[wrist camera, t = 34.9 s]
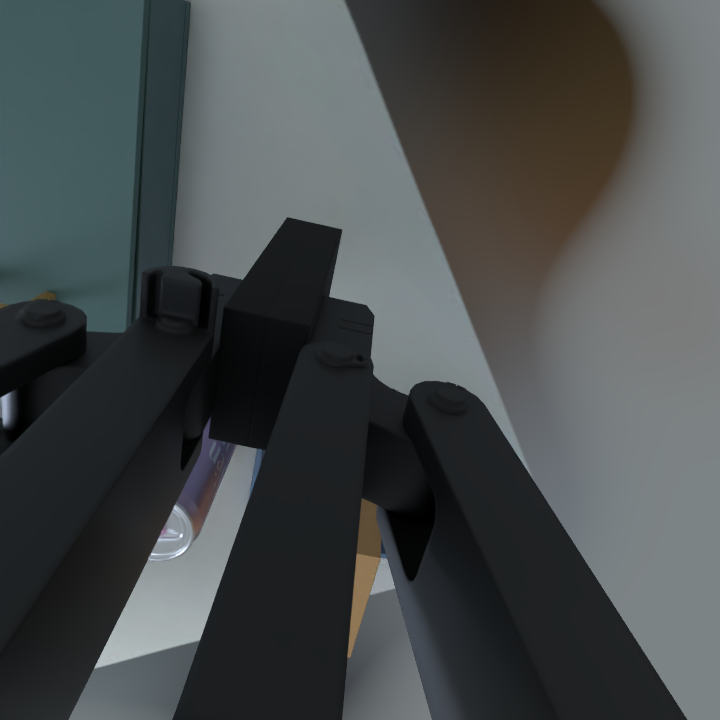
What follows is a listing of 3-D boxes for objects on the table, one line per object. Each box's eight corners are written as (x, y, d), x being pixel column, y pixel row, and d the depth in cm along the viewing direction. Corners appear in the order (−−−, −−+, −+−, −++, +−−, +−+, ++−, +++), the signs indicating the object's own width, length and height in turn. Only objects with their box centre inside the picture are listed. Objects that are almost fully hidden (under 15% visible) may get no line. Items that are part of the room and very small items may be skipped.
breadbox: (170, 290, 48) (135, 325, 41) (-22, 248, 47) (-86, 278, 41) (191, 2, 39) (151, -9, 33) (-45, -54, 38) (-132, -76, 32)
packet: (385, 438, 52) (380, 558, 40) (361, 525, 57) (350, 658, 44) (316, 424, 52) (290, 540, 39) (297, 512, 56) (268, 642, 44)
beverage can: (169, 384, 52) (89, 499, 38) (236, 372, 51) (177, 485, 37) (192, 442, 54) (125, 568, 41) (256, 432, 53) (209, 558, 40)
